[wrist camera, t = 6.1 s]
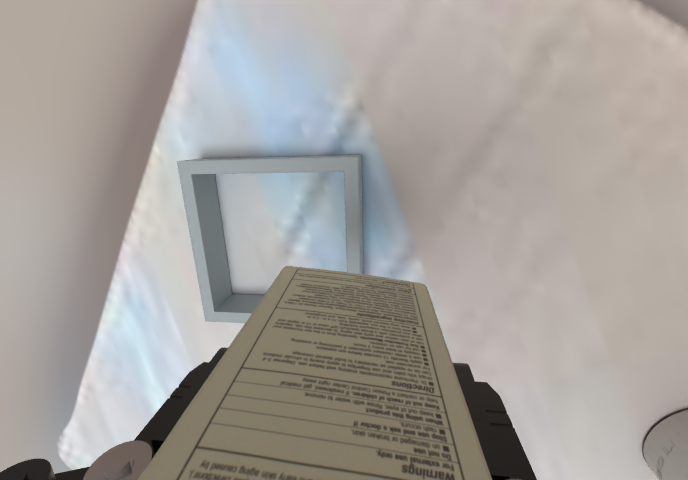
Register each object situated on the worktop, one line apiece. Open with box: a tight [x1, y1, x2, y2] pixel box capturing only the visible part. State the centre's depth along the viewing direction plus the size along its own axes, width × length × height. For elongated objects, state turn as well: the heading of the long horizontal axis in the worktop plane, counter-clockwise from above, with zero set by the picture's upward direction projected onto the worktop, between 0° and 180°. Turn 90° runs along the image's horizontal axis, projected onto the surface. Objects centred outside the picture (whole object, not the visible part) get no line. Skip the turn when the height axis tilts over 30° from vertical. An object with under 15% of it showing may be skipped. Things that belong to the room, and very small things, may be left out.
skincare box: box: [138, 266, 492, 480], centre depth 8 cm, size 6×4×12 cm
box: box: [177, 155, 363, 323], centre depth 28 cm, size 14×14×4 cm
